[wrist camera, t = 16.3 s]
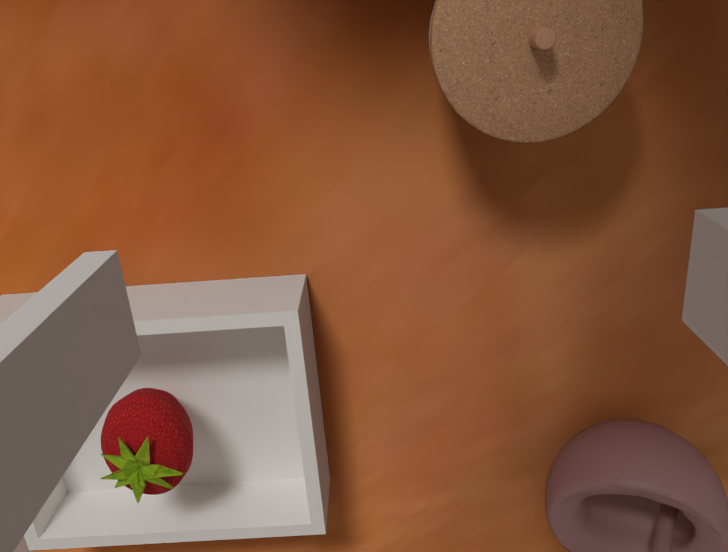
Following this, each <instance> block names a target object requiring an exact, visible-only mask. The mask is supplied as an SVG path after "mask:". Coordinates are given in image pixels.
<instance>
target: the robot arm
mask: <svg viewBox="0 0 728 552" xmlns="http://www.w3.org/2000/svg"><path fill="white" fill-rule="evenodd" d="M682 321H683V322H684V323H685V324H686V325H687V326H688V327H689V328H690V329H691V330H692V331H693V332H694V333H695V334H696V335H697V336H698V337H699V338H700V339H701V340H702V341H703V342H704V343H705V344H706V345H707V346H708V347H709V348H710V349H711V350H712V351H713V352H714V353H715V354H716V355H717V356H718V357H719V358H720V359H721V360H722V361H723V362H724V363H725V364H726V365H727V366H728V207H727V208H713V209H699V210H695V215H694V224H693V232H692V240H691V248H690V256H689V264H688V272H687V280H686V289H685V297H684V305H683V313H682ZM140 357H141V351H140V346H139V342H138V338H137V333H136V329H135V325H134V321H133V316H132V312H131V308H130V304H129V299H128V295H127V291H126V286H125V282H124V278H123V274H122V269H121V265H120V261H119V256H118V252H117V250H113V251H98V252H84V253H83V254H82V255H81V256H80V257H79V258H77V259H76V260H75V261H74V262H73V263H72V264H70V265H69V266H68V267H67V268H66V269H65V270H63V271H62V272H61V273H60V274H59V275H58V276H56V277H55V278H54V279H53V280H52V281H51V282H49V283H48V284H47V285H46V286H45V287H44V288H42V289H41V290H40V291H39V292H38V293H37V294H35V295H34V296H33V297H32V298H31V299H30V300H28V301H27V302H26V303H25V304H24V305H23V306H21V307H20V308H19V309H18V310H17V311H16V312H14V313H13V314H12V315H11V316H10V317H9V318H7V319H6V320H5V321H4V322H3V323H2V324H0V552H13V551H14V550H15V548H16V547H17V545H18V544H19V542H20V541H21V539H22V538H23V536H24V535H25V533H26V531H27V530H28V528H29V527H30V525H31V524H32V522H33V521H34V519H35V518H36V516H37V515H38V513H39V512H40V510H41V508H42V507H43V505H44V504H45V502H46V501H47V499H48V498H49V496H50V495H51V493H52V492H53V490H54V489H55V487H56V485H57V484H58V482H59V481H60V479H61V478H62V476H63V475H64V473H65V472H66V470H67V469H68V467H69V466H70V464H71V463H72V461H73V459H74V458H75V456H76V455H77V453H78V452H79V450H80V449H81V447H82V446H83V444H84V443H85V441H86V440H87V438H88V436H89V435H90V433H91V432H92V430H93V429H94V427H95V426H96V424H97V423H98V421H99V420H100V418H101V417H102V415H103V413H104V412H105V410H106V409H107V407H108V406H109V404H110V403H111V401H112V400H113V398H114V397H115V395H116V394H117V392H118V391H119V389H120V387H121V386H122V384H123V383H124V381H125V380H126V378H127V377H128V375H129V374H130V372H131V371H132V369H133V368H134V366H135V364H136V363H137V361H138V360H139V358H140Z"/></svg>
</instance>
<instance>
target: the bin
mask: <svg viewBox="0 0 728 552" xmlns="http://www.w3.org/2000/svg"><path fill="white" fill-rule="evenodd" d="M126 291H127V295H128V299H129V304H130V308H131V312H132V316H133V321H134V325H135V329H136V333H137V338H138V342H139V346H140V351H141V357H140V358H139V360H138V361H137V363H136V364H135V366H134V368H133V369H132V371H131V372H130V374H129V375H128V377H127V378H126V380H125V381H124V383H123V384H122V386H121V387H120V389H119V391H118V392H117V394H116V395H115V397H114V398H113V400H112V401H111V403H110V404H109V406H108V407H107V409H106V410H105V412H104V413H103V415H102V417H101V418H100V420H99V421H98V423H97V424H96V426H95V427H94V429H93V430H92V432H91V433H90V435H89V436H88V438H87V440H86V441H85V443H84V444H83V446H82V447H81V449H80V450H79V452H78V453H77V455H76V456H75V458H74V459H73V461H72V463H71V464H70V466H69V467H68V469H67V470H66V472H65V473H64V475H63V476H62V478H61V479H60V481H59V482H58V484H57V485H56V487H55V489H54V490H53V492H52V493H51V495H50V496H49V498H48V499H47V501H46V502H45V504H44V505H43V507H42V508H41V510H40V512H39V513H38V515H37V516H36V518H35V519H34V521H33V522H32V524H31V525H30V527H29V528H28V530H27V531H26V533H25V535H24V538H25V540H26V543H27V546H28V549H29V550H46V549H64V548H82V547H100V546H118V545H137V544H155V543H173V542H191V541H210V540H228V539H246V538H264V537H282V536H301V535H319V534H326V527H327V514H328V501H329V489H330V472H329V464H328V455H327V447H326V438H325V430H324V421H323V413H322V404H321V396H320V387H319V379H318V370H317V362H316V353H315V345H314V336H313V328H312V319H311V311H310V302H309V294H308V285H307V277H306V274H300V275H286V276H271V277H256V278H242V279H227V280H212V281H198V282H183V283H168V284H154V285H139V286H126ZM37 293H38V292H36V293H21V294H7V295H1V296H0V324H2V323H3V322H4V321H5V320H6V319H7V318H9V317H10V316H11V315H12V314H13V313H14V312H16V311H17V310H18V309H19V308H20V307H21V306H23V305H24V304H25V303H26V302H27V301H28V300H30V299H31V298H32V297H33V296H34V295H35V294H37ZM142 388H154V389H159V390H164V391H166V392H169V393H170V394H172V395H173V396H174V397H175V398H176V399H177V400H178V401H179V402H180V403H181V405H182V406H183V407H184V409H185V410H186V412H187V414H188V416H189V418H190V421H191V423H192V428H193V458H192V463H191V466H190V468H189V470H188V472H187V473H186V475H185V476H184V477H183V479H182V480H181V481H180V483H179V484H178V485H177V486H176V487H175V488H173V489H172V490H170V491H168V492H166V493H163V494H158V495H148V494H142V496H141V498H140V501H139V503H138V504H137V501H136V498H135V496H134V493H133V490H131V489H129V488H127V487H125V486H121V487H117V488H115V486H116V483H117V481H118V480H112V479H101V478H102V477H104V476H107V475H109V474H111V473H112V472H111V471H110V469H109V467H108V466H107V464H106V462H105V460H104V457H103V456H102V455H100V454H102V450H101V433H102V428H103V425H104V422H105V419H106V416H107V414H108V412H109V410H110V409H111V407H112V406H113V405H114V404H115V403H116V402H117V401H119V400H120V399H122V398H123V397H125V396H126V395H128V394H129V393H131V392H133V391H135V390H137V389H142Z"/></svg>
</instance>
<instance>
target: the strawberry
mask: <svg viewBox="0 0 728 552" xmlns="http://www.w3.org/2000/svg"><path fill="white" fill-rule="evenodd" d="M101 450H102V454H100V455H102V456H103V457H104V460H105V462H106V464H107V466H108V467H109V469H110V471H111V472H112V473H111V474H109V475H107V476H104V477H102V478H101V479H112V480H118V481H117V483H116V486H115V488H117V487H121V486H125V487H127V488H129V489H131V490H133V493H134V496H135V498H136V501H137V504H138V503H139V501H140V498H141V496H142V494H148V495H158V494H163V493H166V492H168V491H170V490H172V489H173V488H175V487H176V486H177V485H178V484H179V483H180V481H181V480H182V479H183V477H184V476H185V475H186V473H187V472H188V470H189V468H190V466H191V463H192V458H193V428H192V423H191V421H190V418H189V416H188V414H187V412H186V410H185V409H184V407H183V406H182V405H181V403H180V402H179V401H178V400H177V399H176V398H175V397H174V396H173V395H172V394H170V393H169V392H166V391H164V390H159V389H154V388H142V389H137V390H135V391H133V392H131V393H129V394H128V395H126V396H125V397H123V398H122V399H120V400H119V401H117V402H116V403H115V404H114V405H113V406H112V407H111V409H110V410H109V412H108V414H107V416H106V419H105V422H104V425H103V428H102V433H101Z"/></svg>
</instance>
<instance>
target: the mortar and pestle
mask: <svg viewBox="0 0 728 552" xmlns="http://www.w3.org/2000/svg"><path fill="white" fill-rule="evenodd" d="M545 509H546V515H547V519H548V523H549V525H550V527H551V529H552V531H553V533H554V535H555V536H556V538H557V539H558V540H559V542H560V543H561V544H562V545H563V546H564V547H565V548H566V549H568V550H569V551H570V552H727V548H728V501H727V497H726V494H725V491H724V488H723V486H722V483H721V481H720V479H719V477H718V475H717V474H716V472H715V470H714V469H713V467H712V466H711V464H710V463H709V462H708V460H707V459H706V458H705V457H704V456H703V455H702V454H701V452H700V451H699V450H698V449H696V448H695V447H694V446H693V445H692V444H691V443H689V442H688V441H687V440H685V439H684V438H683V437H681V436H679V435H678V434H676V433H674V432H673V431H671V430H668V429H666V428H664V427H662V426H659V425H656V424H653V423H649V422H644V421H639V420H612V421H607V422H603V423H599V424H596V425H594V426H591V427H589V428H587V429H585V430H583V431H582V432H580V433H579V434H577V435H576V436H575V437H573V438H572V439H571V440H570V441H569V442H568V443H567V444H566V445H565V446H564V447H563V448H562V449H561V451H560V452H559V454H558V455H557V457H556V458H555V460H554V462H553V465H552V467H551V469H550V472H549V475H548V478H547V483H546V490H545Z"/></svg>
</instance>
